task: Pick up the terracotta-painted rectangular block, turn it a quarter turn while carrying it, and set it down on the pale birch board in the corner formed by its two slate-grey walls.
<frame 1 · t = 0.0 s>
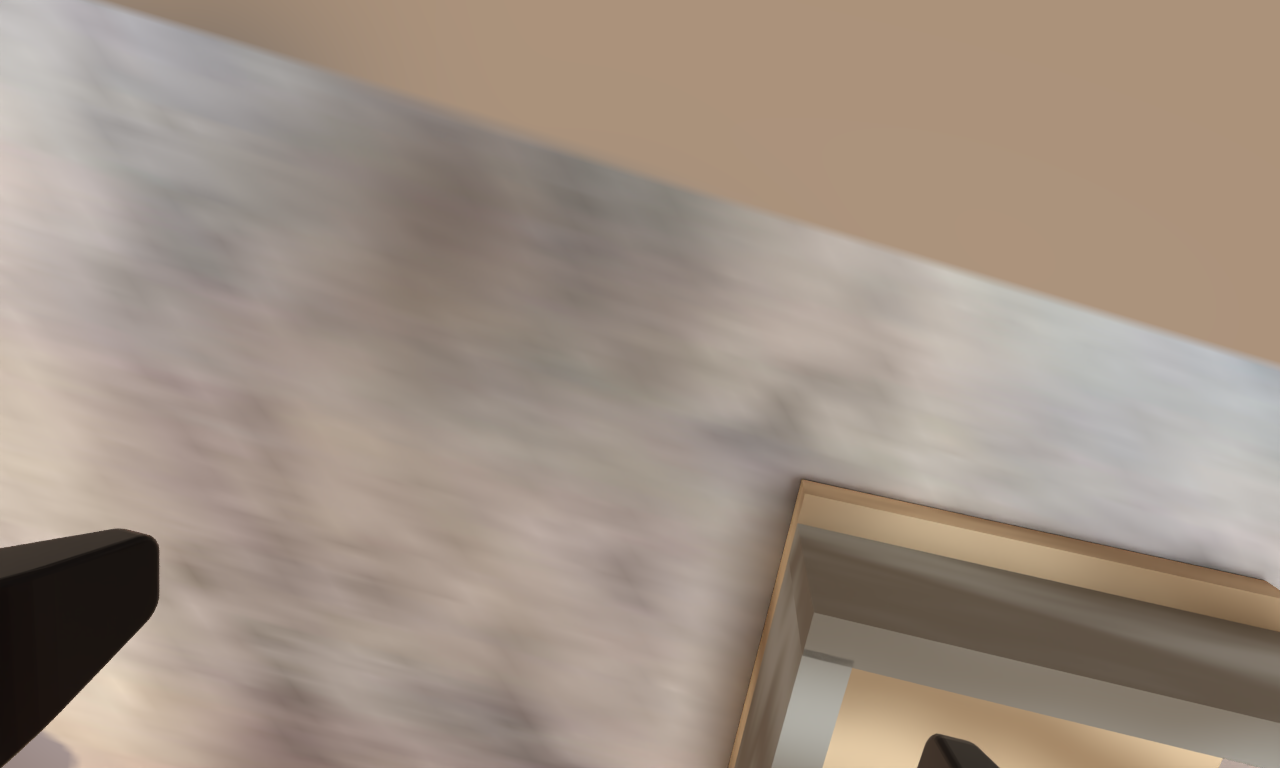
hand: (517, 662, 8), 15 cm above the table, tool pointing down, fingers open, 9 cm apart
corner board: (964, 703, 23), on the table
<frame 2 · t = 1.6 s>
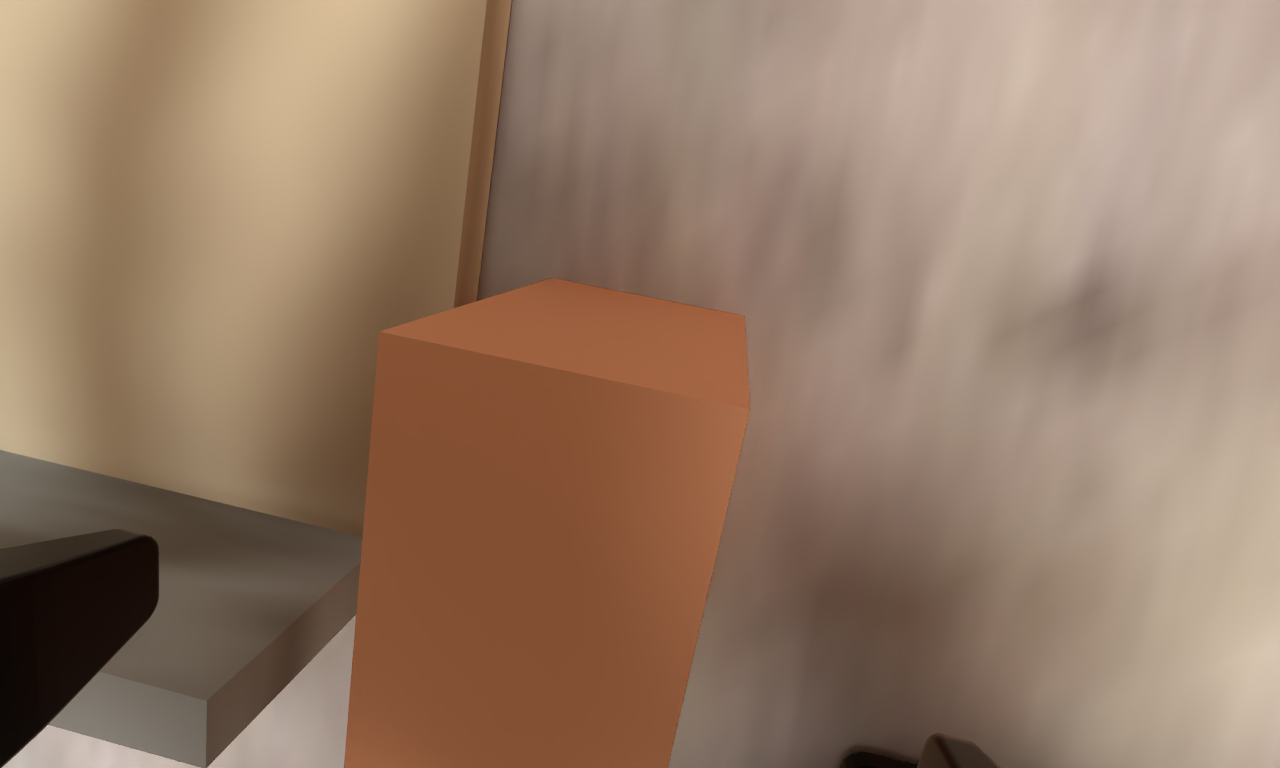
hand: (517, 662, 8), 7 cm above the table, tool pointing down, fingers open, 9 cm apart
corner board: (192, 219, 15), on the table
block: (620, 445, 15), on the table
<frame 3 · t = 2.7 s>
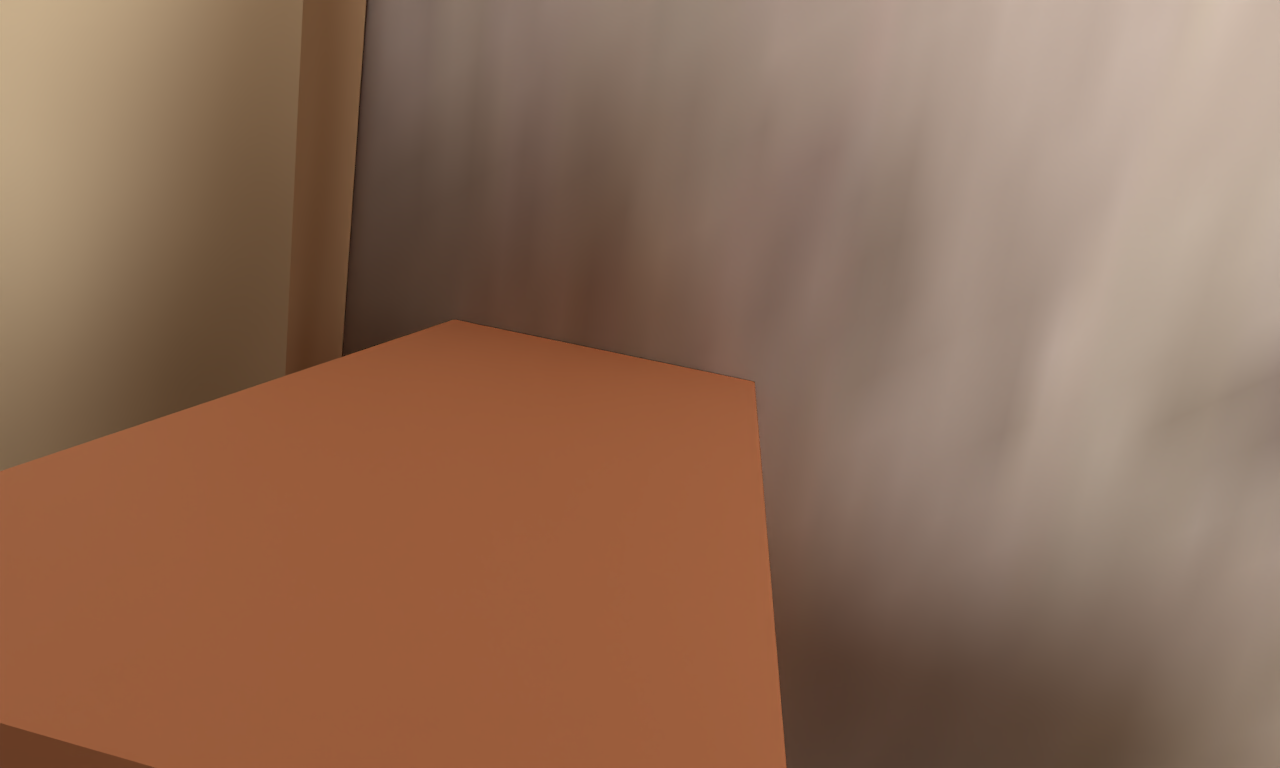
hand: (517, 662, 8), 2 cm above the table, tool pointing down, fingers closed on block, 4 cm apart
block: (563, 572, 10), on the table, touching gripper
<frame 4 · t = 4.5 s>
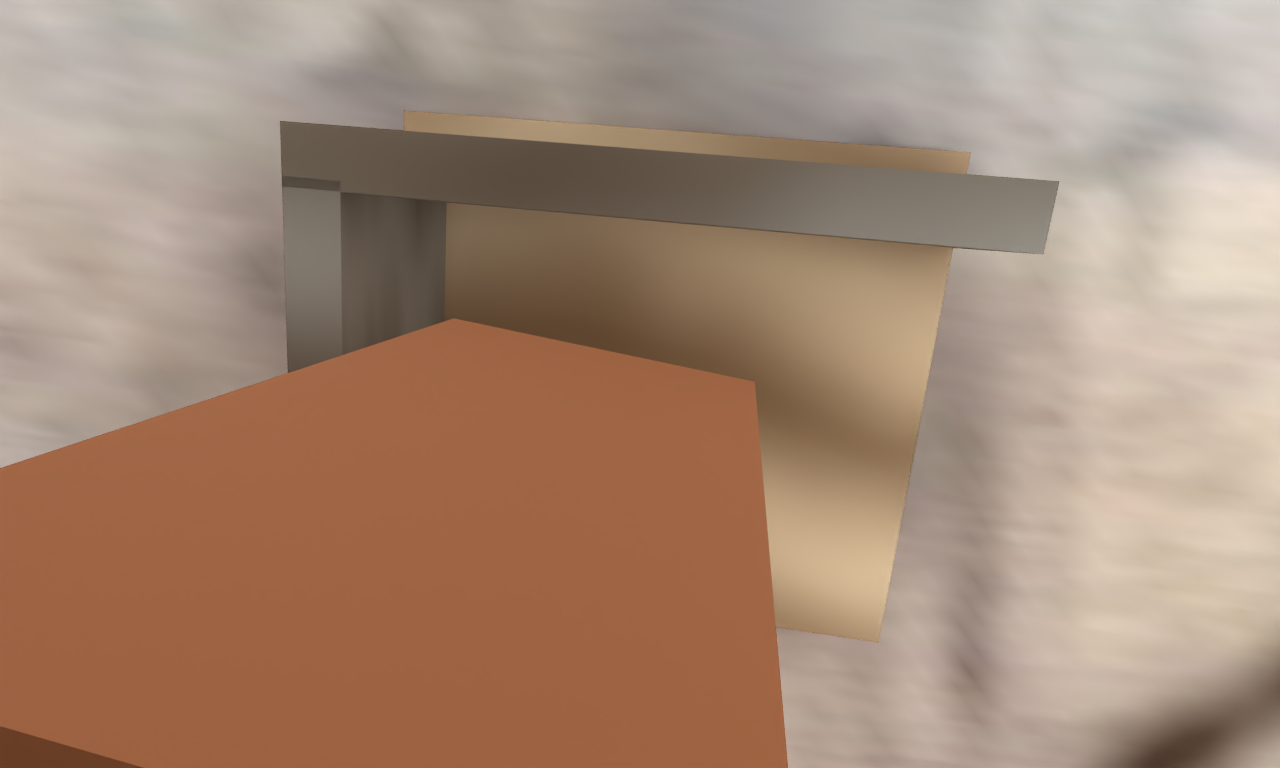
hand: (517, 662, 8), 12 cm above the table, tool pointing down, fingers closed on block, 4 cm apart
corner board: (655, 377, 19), on the table
block: (562, 572, 10), point 10 cm above the table, touching gripper
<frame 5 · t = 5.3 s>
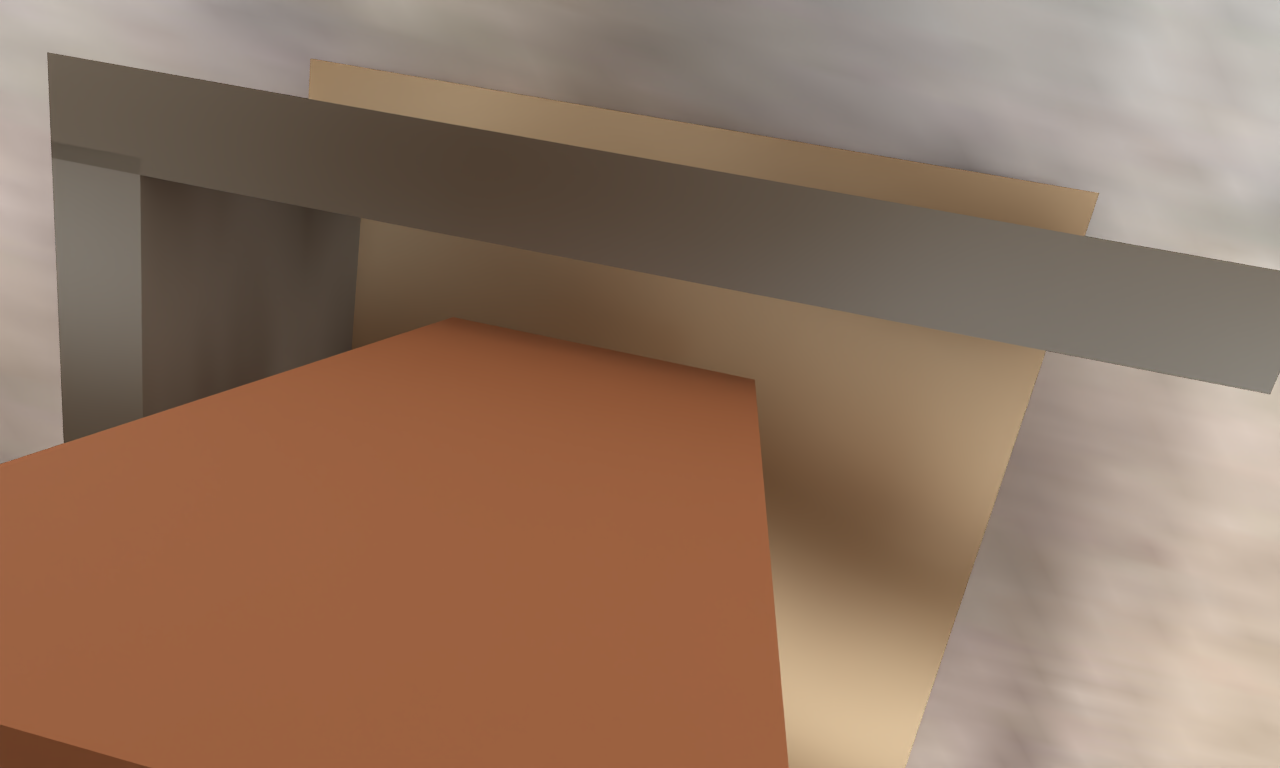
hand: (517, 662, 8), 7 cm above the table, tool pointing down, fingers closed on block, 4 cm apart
corner board: (629, 445, 15), on the table
block: (563, 571, 10), point 5 cm above the table, touching gripper
when the fingers open (5 cm above the table, at t = 6.2 s): block drops 1 cm, resting on corner board.
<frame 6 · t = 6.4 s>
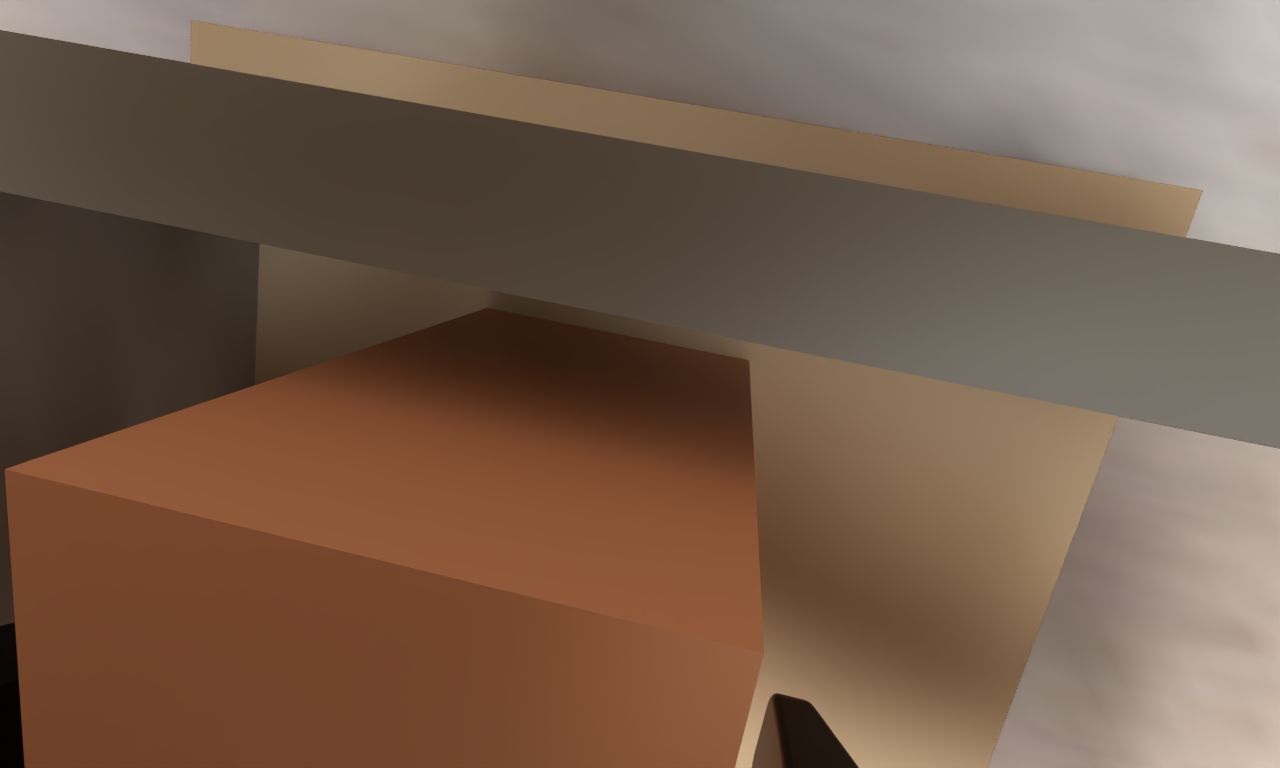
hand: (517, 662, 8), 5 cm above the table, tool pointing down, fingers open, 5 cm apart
corner board: (600, 499, 12), on the table
block: (582, 530, 11), point 1 cm above the table, touching corner board
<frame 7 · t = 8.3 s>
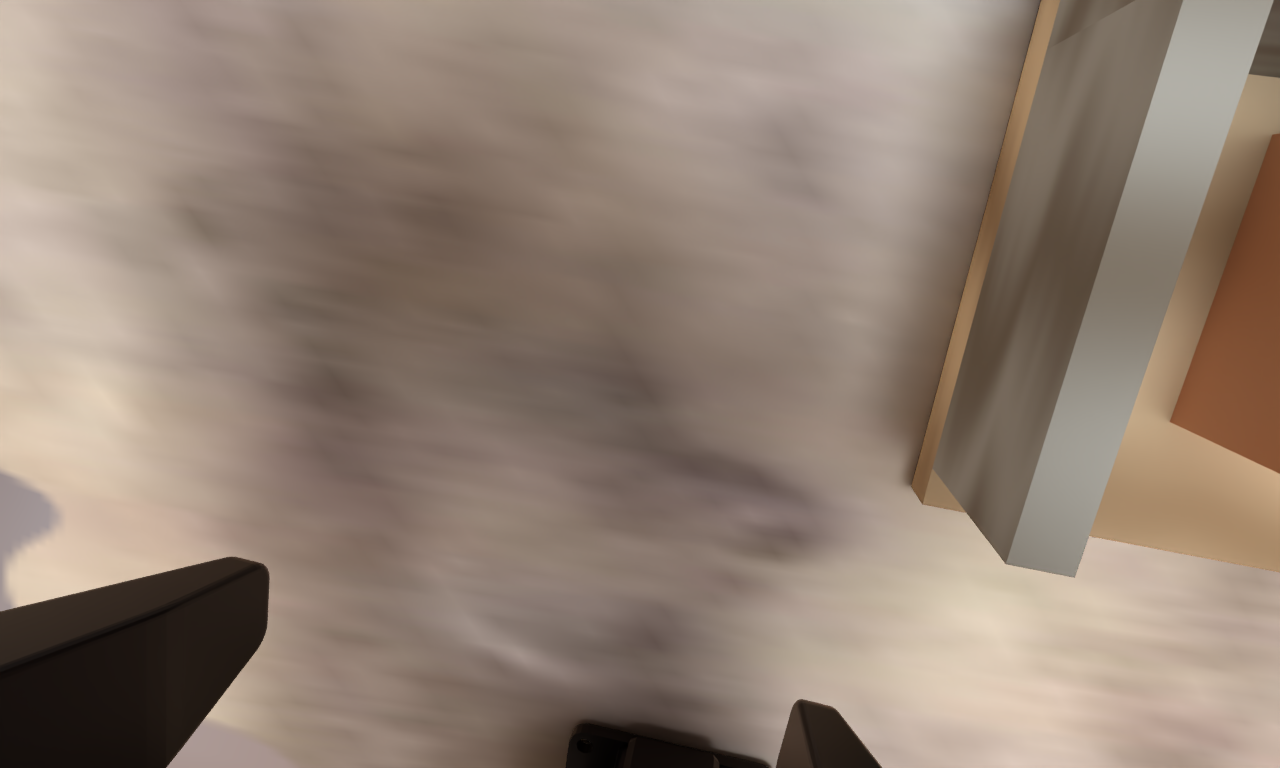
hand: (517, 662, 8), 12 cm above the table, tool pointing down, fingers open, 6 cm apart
corner board: (1276, 292, 16), on the table
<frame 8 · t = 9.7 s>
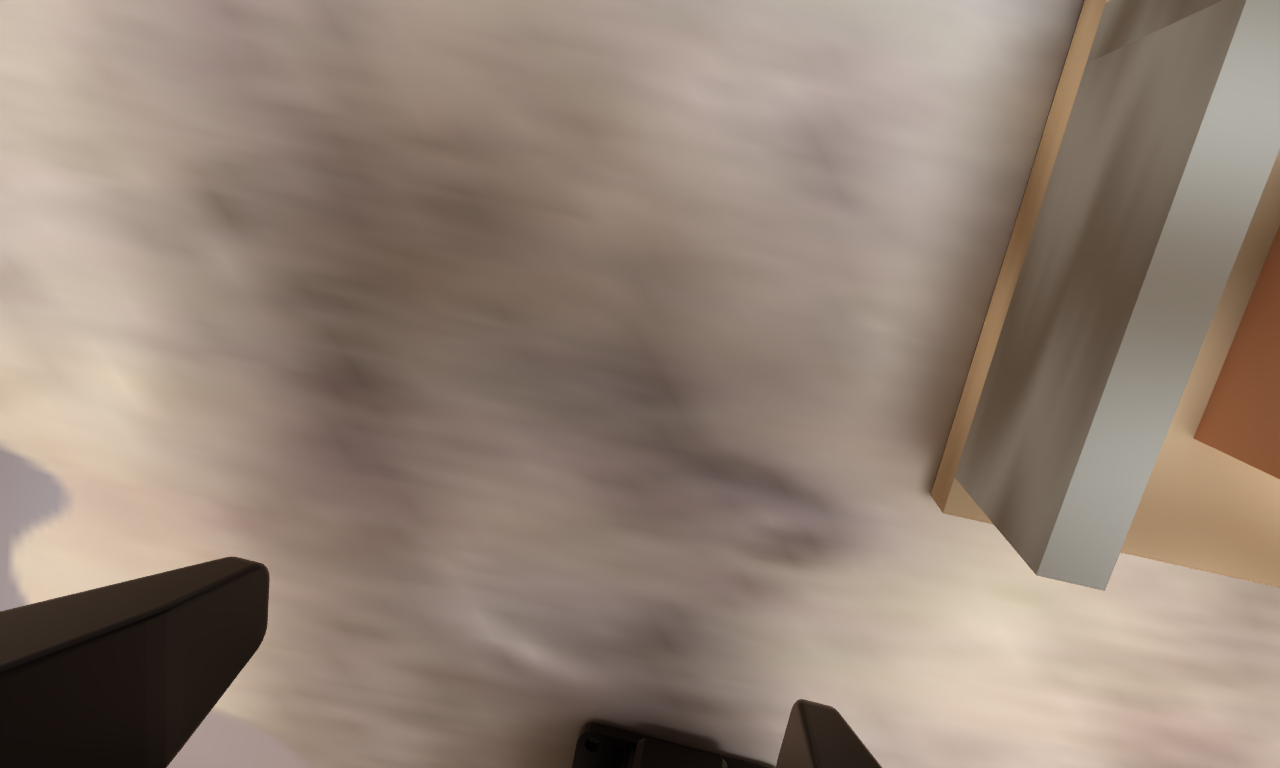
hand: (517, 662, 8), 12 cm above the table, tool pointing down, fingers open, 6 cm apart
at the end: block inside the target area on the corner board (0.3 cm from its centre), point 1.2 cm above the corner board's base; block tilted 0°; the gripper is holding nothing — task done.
